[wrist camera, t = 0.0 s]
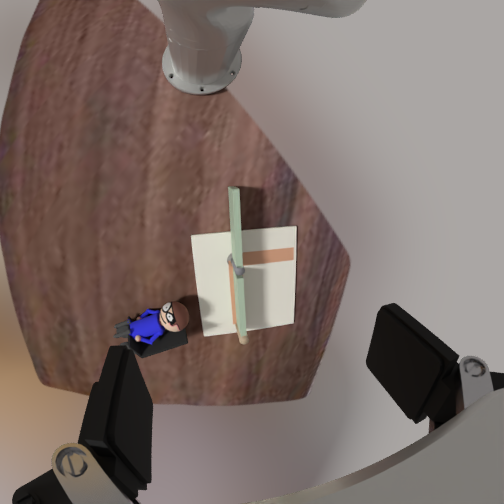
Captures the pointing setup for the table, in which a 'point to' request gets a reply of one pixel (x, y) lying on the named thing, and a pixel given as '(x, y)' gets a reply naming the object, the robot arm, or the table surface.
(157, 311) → the character figurine
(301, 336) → the table surface
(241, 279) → the fixed fence panel
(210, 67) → the robot arm
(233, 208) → the hinged fence panel
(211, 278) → the card
